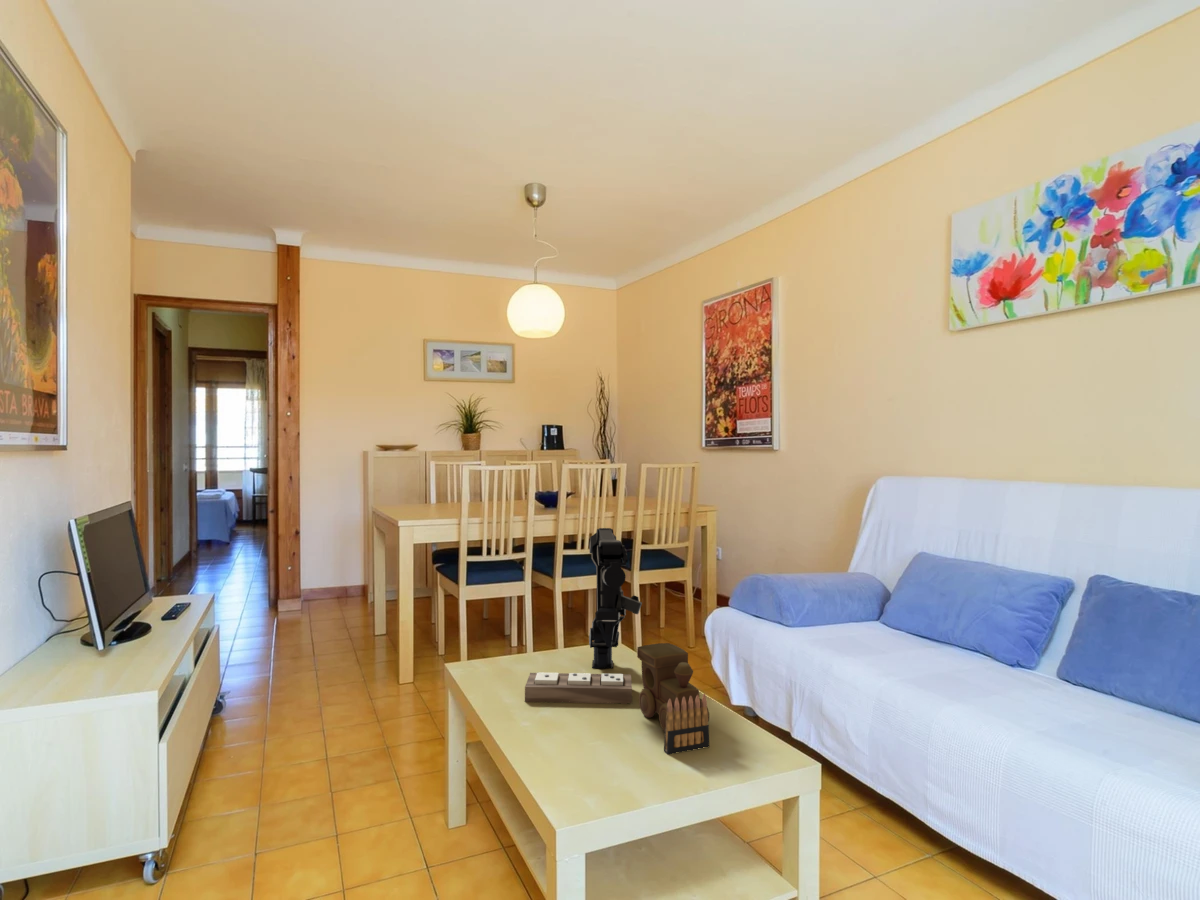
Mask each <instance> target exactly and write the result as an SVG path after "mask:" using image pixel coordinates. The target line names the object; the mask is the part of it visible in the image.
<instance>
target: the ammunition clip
mask: <svg viewBox="0 0 1200 900" xmlns="http://www.w3.org/2000/svg"><path fill="white" fill-rule="evenodd" d="M699 698H700V695H699V696H698V695H697V696H696V700H695V711H694V709H693V699H692V696H690V698H689V702H688V713H687V706H686V699H685V697H683V699H682V704H681V714H680V710H679V701H678V698H676V700H675V705H674V715H673V712H672V702H671V699H669V700H668V705H667V716H666V728H665V731H664V737H663V739H664V740H663V743H664V744H663V752H664V753H665V754H666V755H672V753H674V754H677V753H676V752H679V753H683V752H682V751H685V752H688V751H687V750H691V751H694V750H693V749H697V750H699V749H698V748H703V747H708V746H709V747H710V730H709V729H710V728H709V727H710V726H709V722H708V712H707V707H708V700H707V695H706V694H705V693H703V694H702V698H700V699H702V706H701V711H700V699H699ZM703 749H704V748H703Z"/></svg>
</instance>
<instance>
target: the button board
mask: <svg viewBox="0 0 1200 900" xmlns="http://www.w3.org/2000/svg"><path fill="white" fill-rule="evenodd" d="M558 673H559V681H558V684H535V678H536V675H537V672H529V675H528V677H527V681H526V683H525V686H524V702H525V701H526V702H525V703H561V702H567V704H568V703H569V704H573V703H574V704H576V703H577V704H614V703H621V704H622V705H628V704H627V703H632V704H633V685H632V674H625V673H624V674H623V673H622V674H623V686H615V685H601V674H602V673H591V685H568V677H569V673H570V672H568V673H563V672H562V673H561V672H558ZM621 704H620V705H621Z"/></svg>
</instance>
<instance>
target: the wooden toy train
mask: <svg viewBox="0 0 1200 900" xmlns="http://www.w3.org/2000/svg"><path fill="white" fill-rule="evenodd" d="M636 650H637V651H636V652H637V653H636V655H637V656H636V657H637V658H638V659H639V660H640V661H641V679H642V686H643V688H641V691H640V693H639V695H638V705H639V709H640V711H641V713H642V715H643V716H644V717H646V718H649V719H650V718H653V717H654V716H655V715H656V714H658V720H659V724H660V728H661V729H662V731H664V732H665V728H666V716H667V705H668V700H669V699H671V702H672V712H673V715H674V705H675V700H676V698H678V701H679V710H680V714H681V704H682V699H683V697H685V699H686V706H687V713H688V702H689V698H690V696H692V699H693V709H694V711H695V700H696V696H697V695H698V696H699V699H700V711H701V706H702V698H700V690H699V689H698V688H697V687H696V686H694V685H693V684H691V683H690V681H691V679H692V677H693V674H694V670H693V668H692V666H691V664H690V663H689V653H688V652H687V651H686V650H685V649H683V648H681V647H679V646H678V645H675V644H672V643H670V642H665V643H663V642H661V643H651V644H646V645H642V646H637V649H636ZM709 711H710V710H709V707H708V706H707V712H708V723H709V721H710V712H709Z"/></svg>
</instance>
